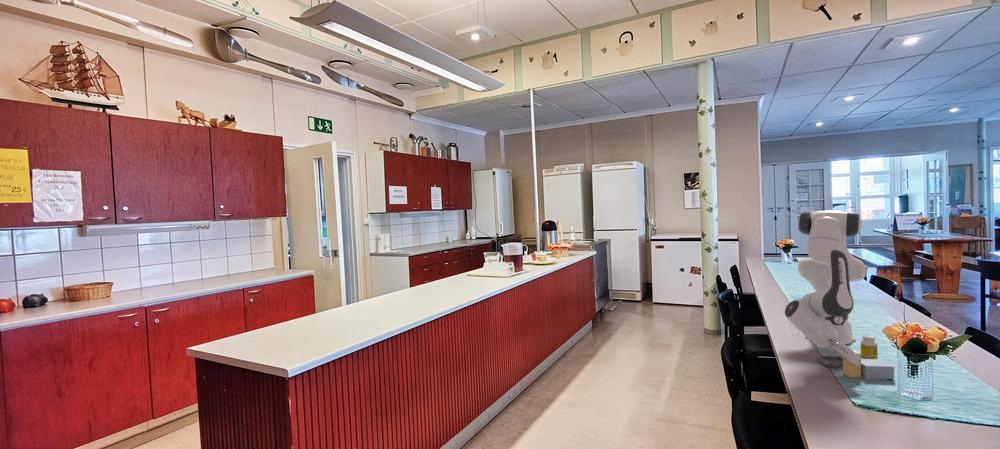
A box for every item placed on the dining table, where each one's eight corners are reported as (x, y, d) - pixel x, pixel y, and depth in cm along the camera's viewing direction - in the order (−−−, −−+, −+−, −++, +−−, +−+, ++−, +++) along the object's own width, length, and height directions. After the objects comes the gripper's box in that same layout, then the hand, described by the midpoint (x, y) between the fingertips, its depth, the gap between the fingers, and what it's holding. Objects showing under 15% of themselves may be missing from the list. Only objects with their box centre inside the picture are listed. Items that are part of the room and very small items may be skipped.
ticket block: (853, 371, 173) (853, 358, 173) (880, 372, 171) (880, 359, 171) (865, 379, 166) (865, 365, 165) (894, 380, 164) (894, 366, 164)
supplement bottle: (863, 356, 189) (863, 333, 189) (879, 359, 185) (879, 336, 184) (858, 359, 186) (858, 336, 186) (874, 362, 182) (874, 339, 181)
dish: (817, 360, 187) (816, 355, 187) (840, 360, 185) (840, 356, 185) (827, 367, 178) (827, 362, 178) (852, 368, 177) (852, 363, 177)
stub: (842, 373, 172) (842, 349, 172) (855, 373, 171) (854, 350, 171) (848, 377, 168) (848, 353, 168) (861, 377, 168) (860, 353, 167)
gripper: (845, 338, 161) (877, 366, 159) (817, 323, 181) (845, 348, 179) (831, 350, 162) (863, 378, 160) (805, 334, 182) (833, 359, 180)
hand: (853, 362), depth 170 cm, fingers closed on stub, 4 cm apart
